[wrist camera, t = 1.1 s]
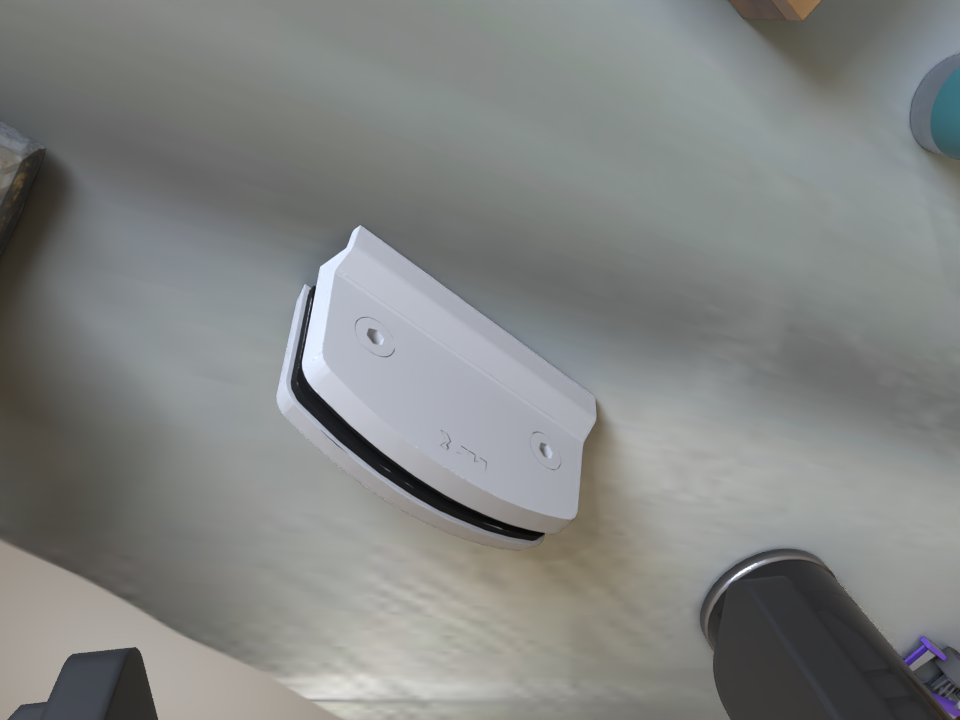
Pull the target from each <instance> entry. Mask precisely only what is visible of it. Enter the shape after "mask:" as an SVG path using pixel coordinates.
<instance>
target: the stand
mask: <svg viewBox="0 0 960 720" xmlns="http://www.w3.org/2000/svg"><path fill="white" fill-rule="evenodd" d="M821 1H822V0H729V2H730V3H731V4H732V5H733V7H734V8H735V9H736V10H737V11H738V13H739V14H740V15H741V16H742V17H743V18H744V19H768V20H793V21H803V20H804V19H805V18H806V17H807V16H808V15H809V14H810V13H811V12H812V11H813V9H814V8H815V7H816V6H817V5H818V4H819V3H820V2H821Z"/></svg>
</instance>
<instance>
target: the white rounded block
mask: <svg viewBox="0 0 960 720" xmlns="http://www.w3.org/2000/svg"><path fill="white" fill-rule="evenodd" d="M277 403H278V406H279V409H280V411H281V412H282V413H283V415H284V416H285V417H286V418H287V419H288V420H289V421H290V422H291V423H292V424H293V425H294V426H295V427H296V428H297V429H298V430H299V431H300V432H301V433H302V434H303V435H304V436H305V437H306V438H307V439H308V440H309V441H310V442H311V443H312V444H314V445H315V446H316V447H317V448H318V449H319V450H320V451H321V452H322V453H323V454H324V455H326V456H327V457H328V458H329V459H330V460H332V461H333V462H334V463H335V464H336V465H338V466H339V467H340V468H341V469H343V470H344V471H345V472H346V473H348V474H349V475H350V476H352V477H353V478H354V479H356V480H357V481H358V482H360V483H361V484H362V485H364V486H365V487H366V488H368V489H369V490H371V491H372V492H374V493H375V494H377V495H378V496H380V497H381V498H383V499H384V500H386V501H387V502H389V503H391V504H392V505H394V506H396V507H397V508H399V509H401V510H402V511H404V512H406V513H408V514H410V515H411V516H413V517H415V518H417V519H419V520H421V521H423V522H425V523H427V524H429V525H431V526H433V527H436V528H438V529H440V530H442V531H445V532H447V533H450V534H452V535H455V536H458V537H460V538H463V539H466V540H469V541H472V542H476V543H479V544H483V545H487V546H491V547H496V548H501V549H508V550H516V551H519V550H522V549H526V548H529V547H533V546H536V545H539V544H540V543H542V541H543V539H544V536H545V533H548V534H557V533H559V532H560V531H561V530H562V529H564V528H565V527H566V526H567V525H568V524H569V523H570V522H571V521H572V520H573V519H574V518H575V516H576V515H577V512H578V500H579V488H580V476H581V464H582V452H583V444H584V441H585V439H586V437H587V436H588V434H589V432H590V431H591V429H592V427H593V425H594V424H595V421H596V417H597V416H596V401H595V397H594V396H593V395H592V394H590V393H589V392H587V391H586V390H585V389H583V388H582V387H581V386H579V385H578V384H577V383H575V382H574V381H572V380H571V379H570V378H568V377H567V376H566V375H564V374H563V373H562V372H560V371H559V370H557V369H556V368H555V367H553V366H552V365H551V364H549V363H548V362H547V361H545V360H544V359H542V358H541V357H540V356H538V355H537V354H536V353H534V352H533V351H532V350H530V349H529V348H527V347H526V346H525V345H523V344H522V343H521V342H519V341H518V340H517V339H515V338H514V337H512V336H511V335H510V334H508V333H507V332H506V331H504V330H503V329H502V328H500V327H499V326H497V325H496V324H495V323H493V322H492V321H491V320H489V319H488V318H487V317H485V316H484V315H482V314H481V313H480V312H478V311H477V310H476V309H474V308H473V307H472V306H470V305H469V304H467V303H466V302H465V301H463V300H462V299H461V298H459V297H458V296H457V295H455V294H454V293H452V292H451V291H450V290H448V289H447V288H446V287H444V286H443V285H442V284H440V283H439V282H437V281H436V280H435V279H433V278H432V277H431V276H429V275H428V274H427V273H425V272H424V271H422V270H421V269H420V268H418V267H417V266H416V265H414V264H413V263H412V262H410V261H409V260H407V259H406V258H405V257H403V256H402V255H401V254H399V253H398V252H396V251H395V250H394V249H392V248H391V247H390V246H388V245H387V244H386V243H384V242H383V241H381V240H380V239H379V238H377V237H376V236H375V235H373V234H372V233H371V232H369V231H368V230H366V229H365V228H364V227H362V226H361V225H360V226H359V227H357V228H356V229H355V230H353V233H352V235H351V238H350V241H349V243H348V246H347V248H346V249H344V250H343V251H342V252H340V253H339V254H337V255H336V256H335V257H333V258H332V259H331V260H329V261H328V262H326V263H325V264H324V265H322V266H321V267H320V271H319V276H318V281H317V286H313V287H312V288H310V287H309V286H307V285H306V284H305V285H304V287H303V290H302V292H301V294H300V296H299V298H298V300H297V303H296V308H295V312H294V317H293V322H292V326H291V331H290V336H289V340H288V345H287V350H286V354H285V359H284V364H283V368H282V373H281V378H280V382H279V387H278V392H277Z"/></svg>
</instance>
